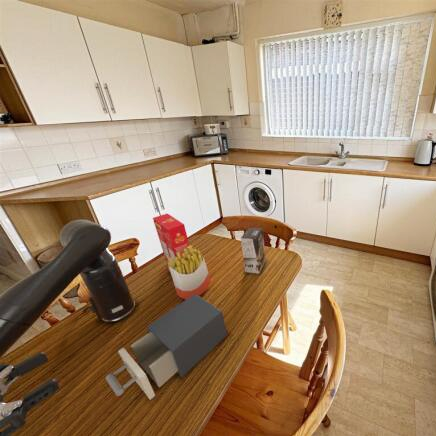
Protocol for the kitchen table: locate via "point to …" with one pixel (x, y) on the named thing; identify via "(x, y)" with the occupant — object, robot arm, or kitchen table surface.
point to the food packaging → (171, 236)
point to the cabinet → (190, 331)
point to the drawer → (145, 365)
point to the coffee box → (253, 250)
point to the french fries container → (189, 273)
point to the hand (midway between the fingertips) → (51, 368)
